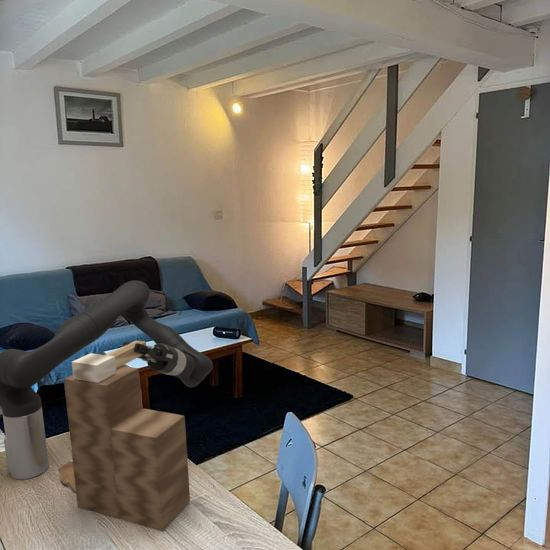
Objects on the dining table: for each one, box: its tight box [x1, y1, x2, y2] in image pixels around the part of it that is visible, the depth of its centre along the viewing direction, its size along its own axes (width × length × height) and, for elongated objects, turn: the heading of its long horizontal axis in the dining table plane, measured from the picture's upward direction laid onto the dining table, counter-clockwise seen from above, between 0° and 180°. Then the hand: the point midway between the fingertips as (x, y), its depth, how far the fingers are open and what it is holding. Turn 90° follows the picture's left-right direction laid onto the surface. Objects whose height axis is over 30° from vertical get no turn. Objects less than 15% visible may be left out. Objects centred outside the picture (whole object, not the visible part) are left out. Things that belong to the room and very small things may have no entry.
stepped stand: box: [63, 365, 191, 532], centre depth 120 cm, size 24×11×32 cm, turn 67°
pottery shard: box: [58, 461, 76, 494], centre depth 135 cm, size 8×16×2 cm, turn 30°
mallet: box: [71, 340, 147, 383], centre depth 123 cm, size 7×20×4 cm, turn 157°
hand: (130, 346), depth 128 cm, fingers closed on mallet, 3 cm apart
